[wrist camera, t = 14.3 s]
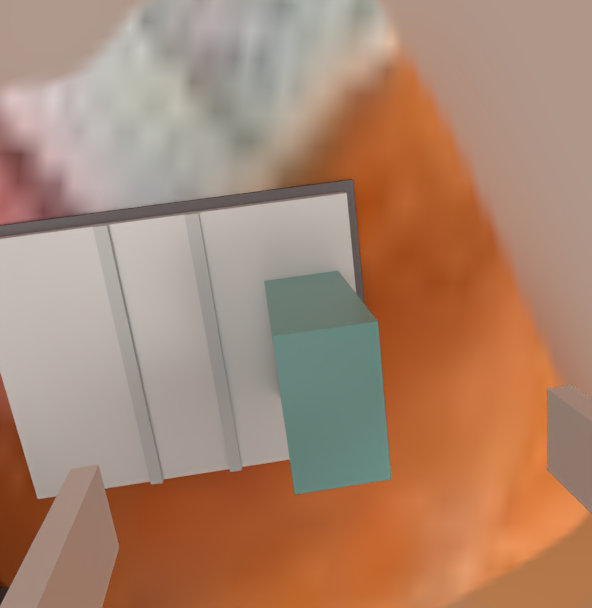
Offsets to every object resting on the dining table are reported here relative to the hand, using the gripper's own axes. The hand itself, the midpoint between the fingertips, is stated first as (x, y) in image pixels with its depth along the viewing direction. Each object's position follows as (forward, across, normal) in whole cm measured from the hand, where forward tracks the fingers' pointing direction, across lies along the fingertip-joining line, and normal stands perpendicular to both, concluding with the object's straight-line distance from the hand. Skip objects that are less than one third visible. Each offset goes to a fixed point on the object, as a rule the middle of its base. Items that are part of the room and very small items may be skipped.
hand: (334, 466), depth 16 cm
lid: (+12, -5, 0) cm, 13 cm away
